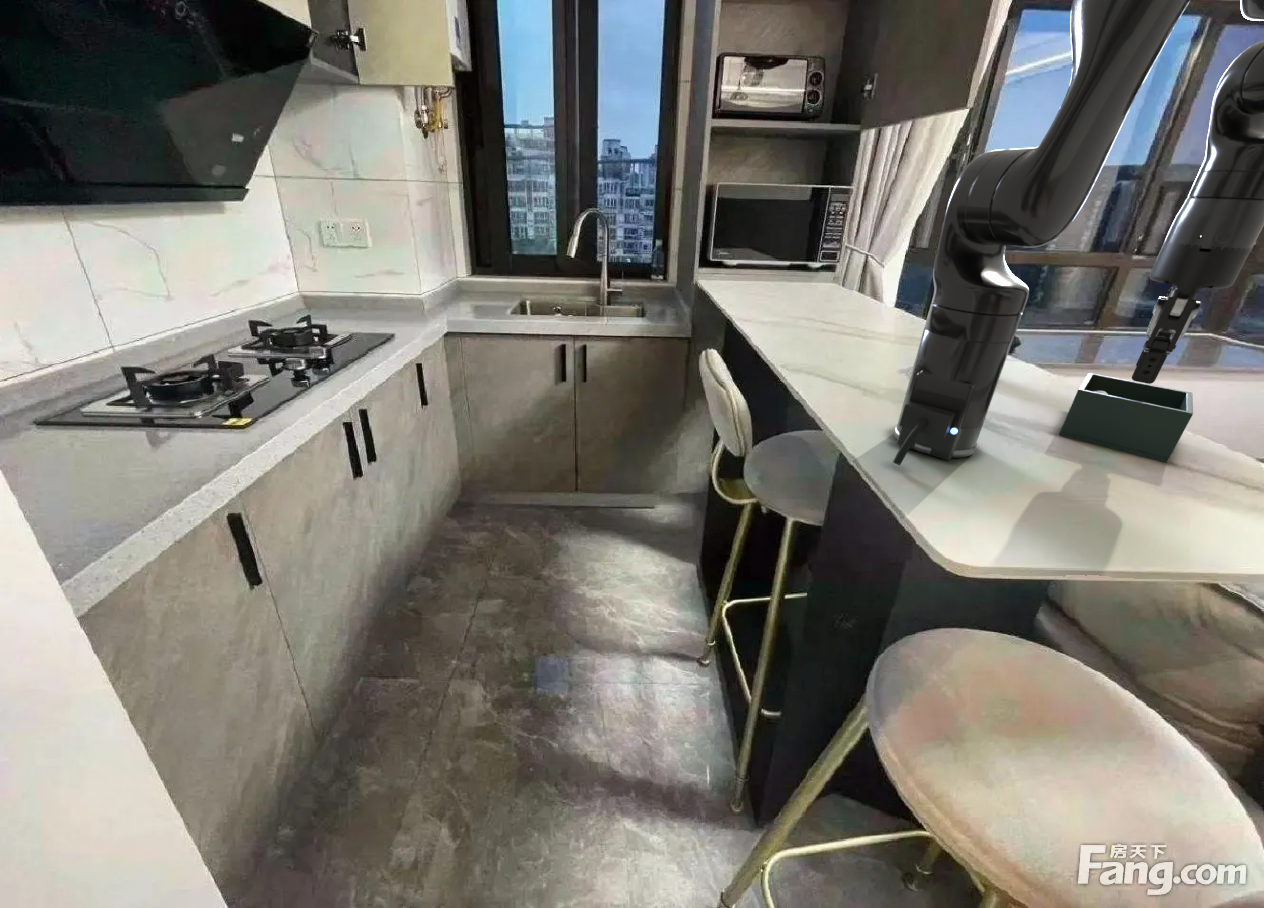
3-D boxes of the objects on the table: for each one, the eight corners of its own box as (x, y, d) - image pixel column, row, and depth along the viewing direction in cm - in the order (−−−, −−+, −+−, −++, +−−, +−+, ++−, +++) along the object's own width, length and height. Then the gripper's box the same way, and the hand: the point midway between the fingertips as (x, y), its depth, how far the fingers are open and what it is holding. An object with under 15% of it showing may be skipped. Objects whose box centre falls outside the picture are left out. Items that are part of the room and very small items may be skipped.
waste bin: (1166, 462, 67) (1193, 413, 64) (1058, 435, 74) (1078, 389, 71) (1168, 437, 75) (1192, 392, 72) (1070, 414, 81) (1088, 372, 78)
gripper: (1167, 237, 70) (1112, 359, 77) (1163, 240, 61) (1101, 378, 68) (1248, 243, 66) (1182, 371, 73) (1259, 247, 56) (1181, 395, 63)
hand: (1143, 375), depth 70 cm, fingers open, 8 cm apart
